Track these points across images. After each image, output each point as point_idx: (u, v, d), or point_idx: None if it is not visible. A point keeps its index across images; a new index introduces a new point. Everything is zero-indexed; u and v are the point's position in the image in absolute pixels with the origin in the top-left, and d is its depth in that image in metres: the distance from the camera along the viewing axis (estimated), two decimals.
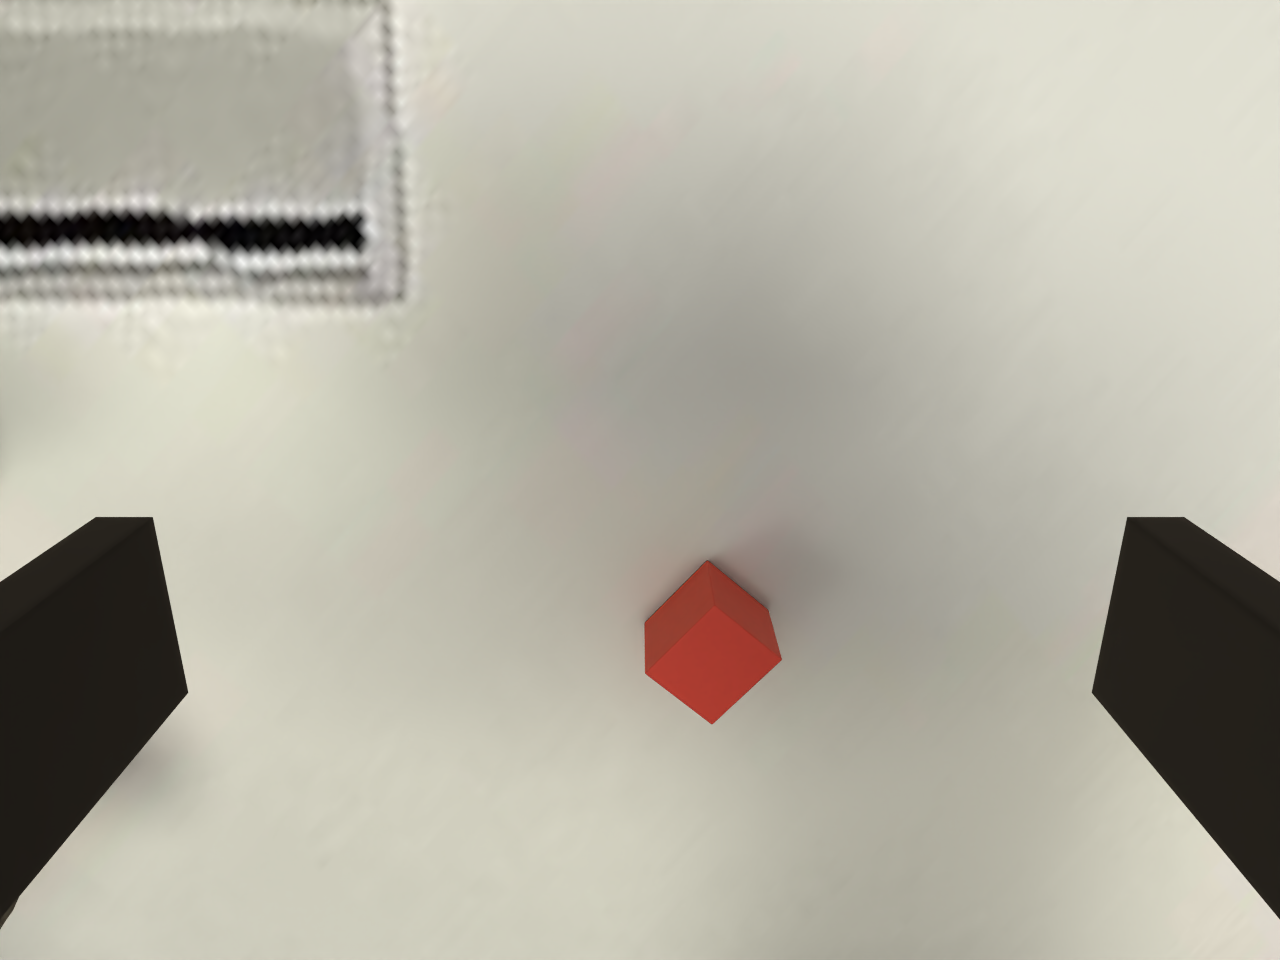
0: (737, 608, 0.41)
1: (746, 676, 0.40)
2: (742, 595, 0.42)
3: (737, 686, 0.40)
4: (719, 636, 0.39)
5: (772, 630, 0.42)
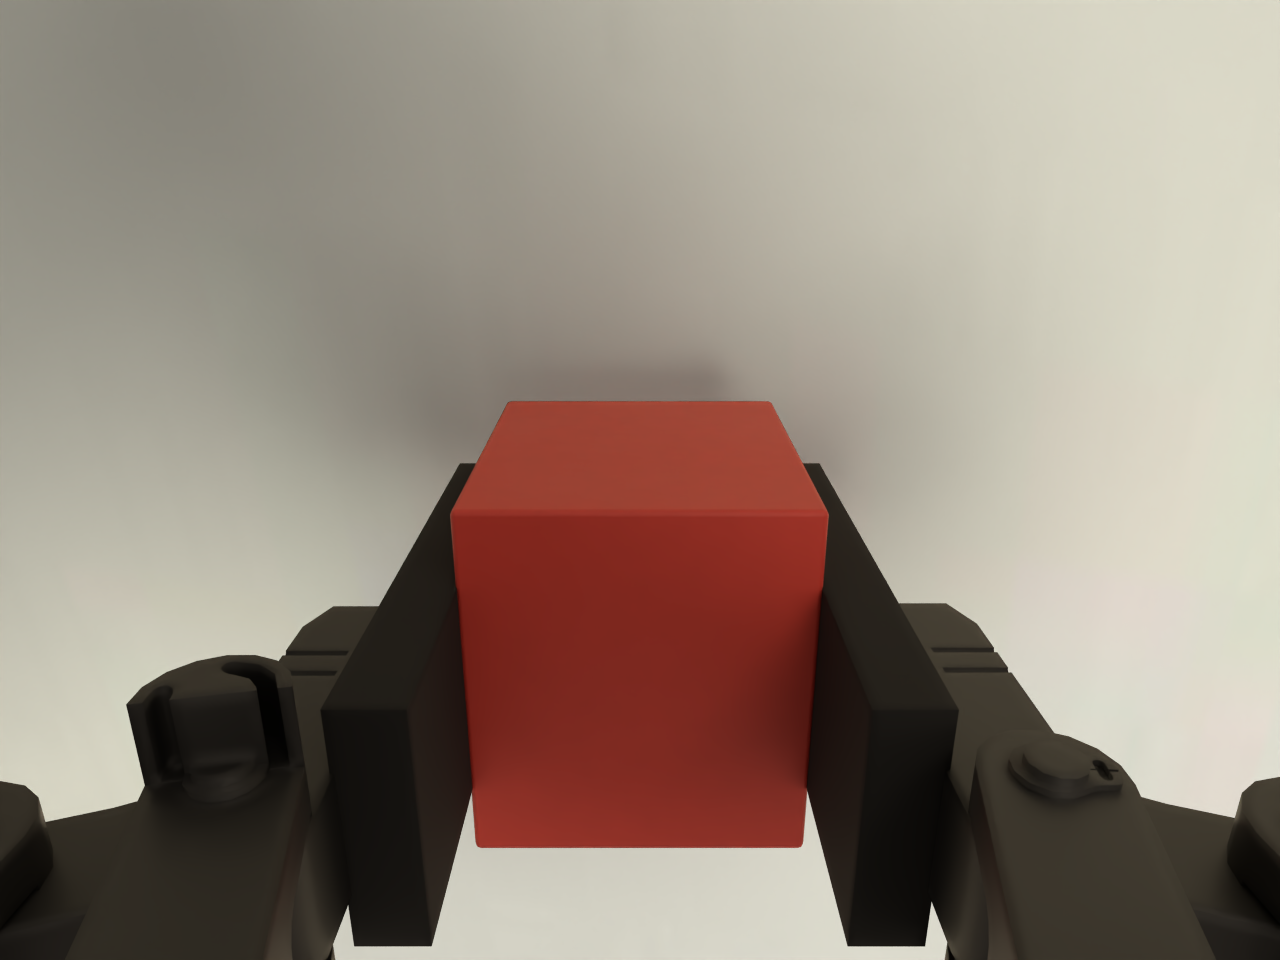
0: None
1: (517, 737, 0.11)
2: None
3: (509, 690, 0.10)
4: (708, 785, 0.11)
5: None
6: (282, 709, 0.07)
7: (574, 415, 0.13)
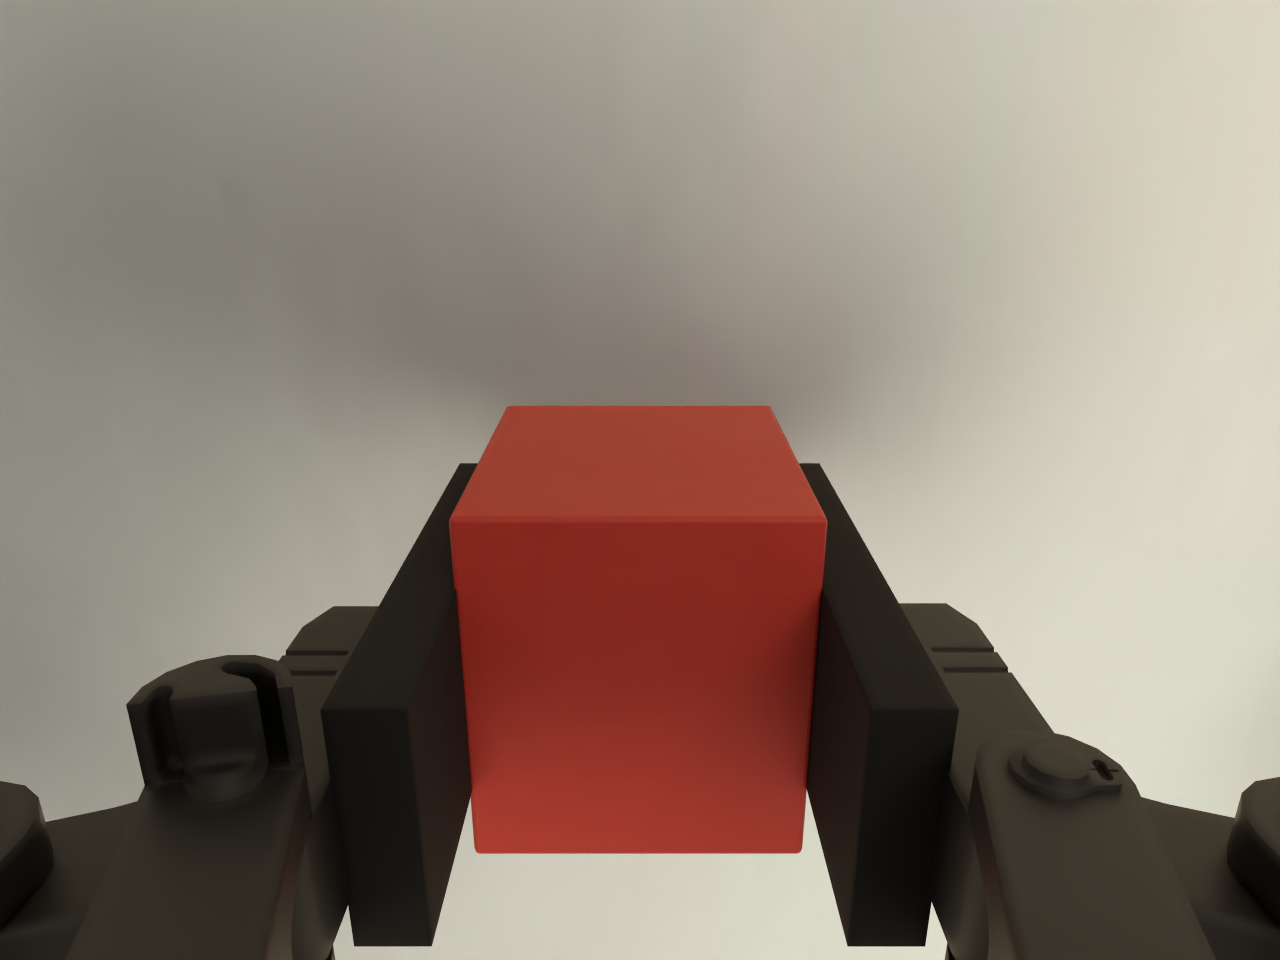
0: None
1: (516, 743, 0.11)
2: None
3: (508, 696, 0.10)
4: (706, 791, 0.11)
5: None
6: (282, 709, 0.07)
7: (573, 420, 0.13)
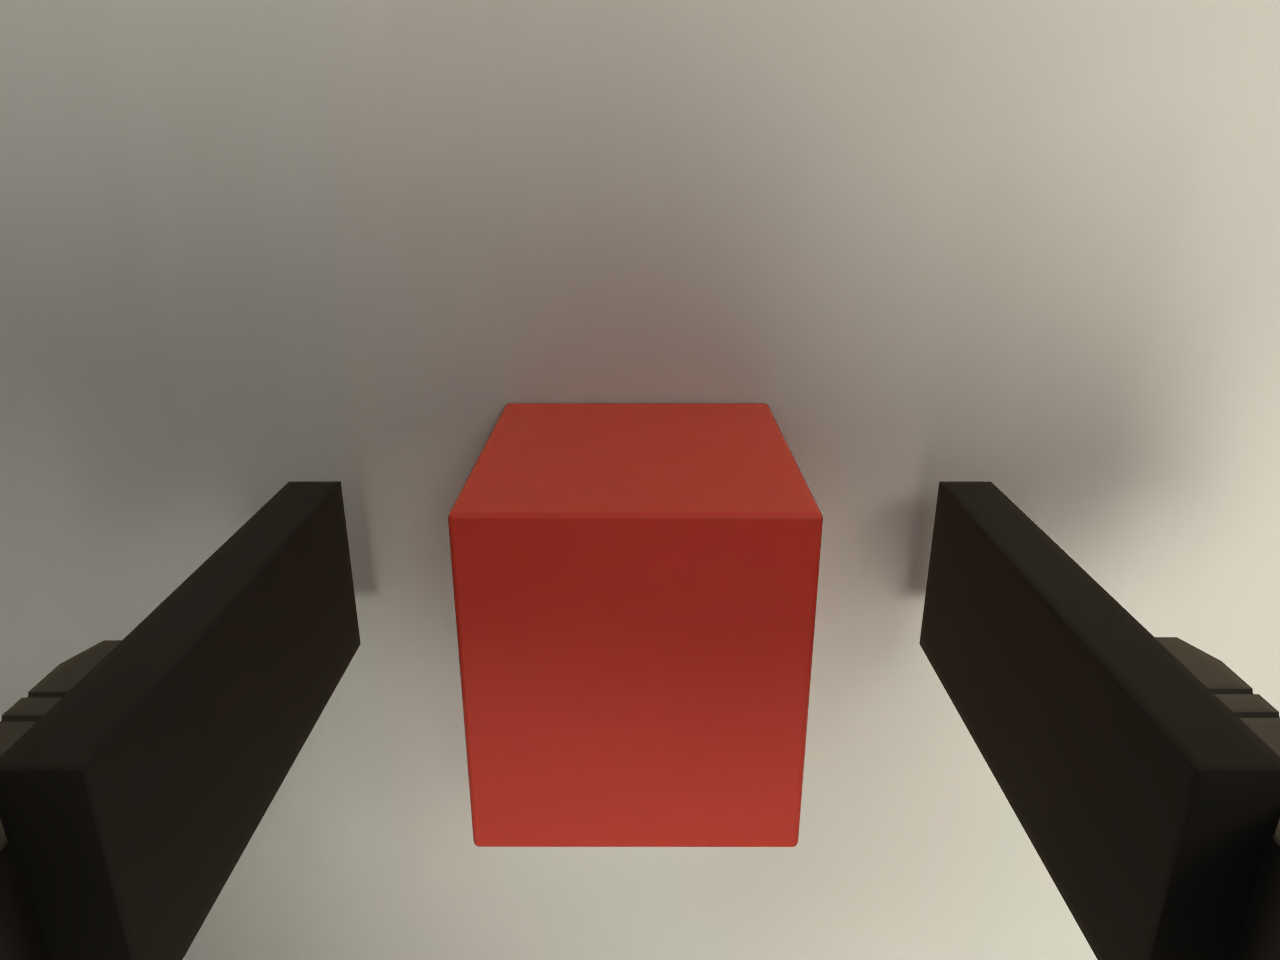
0: None
1: (514, 737, 0.11)
2: None
3: (507, 691, 0.11)
4: (704, 785, 0.11)
5: None
6: None
7: (572, 418, 0.13)
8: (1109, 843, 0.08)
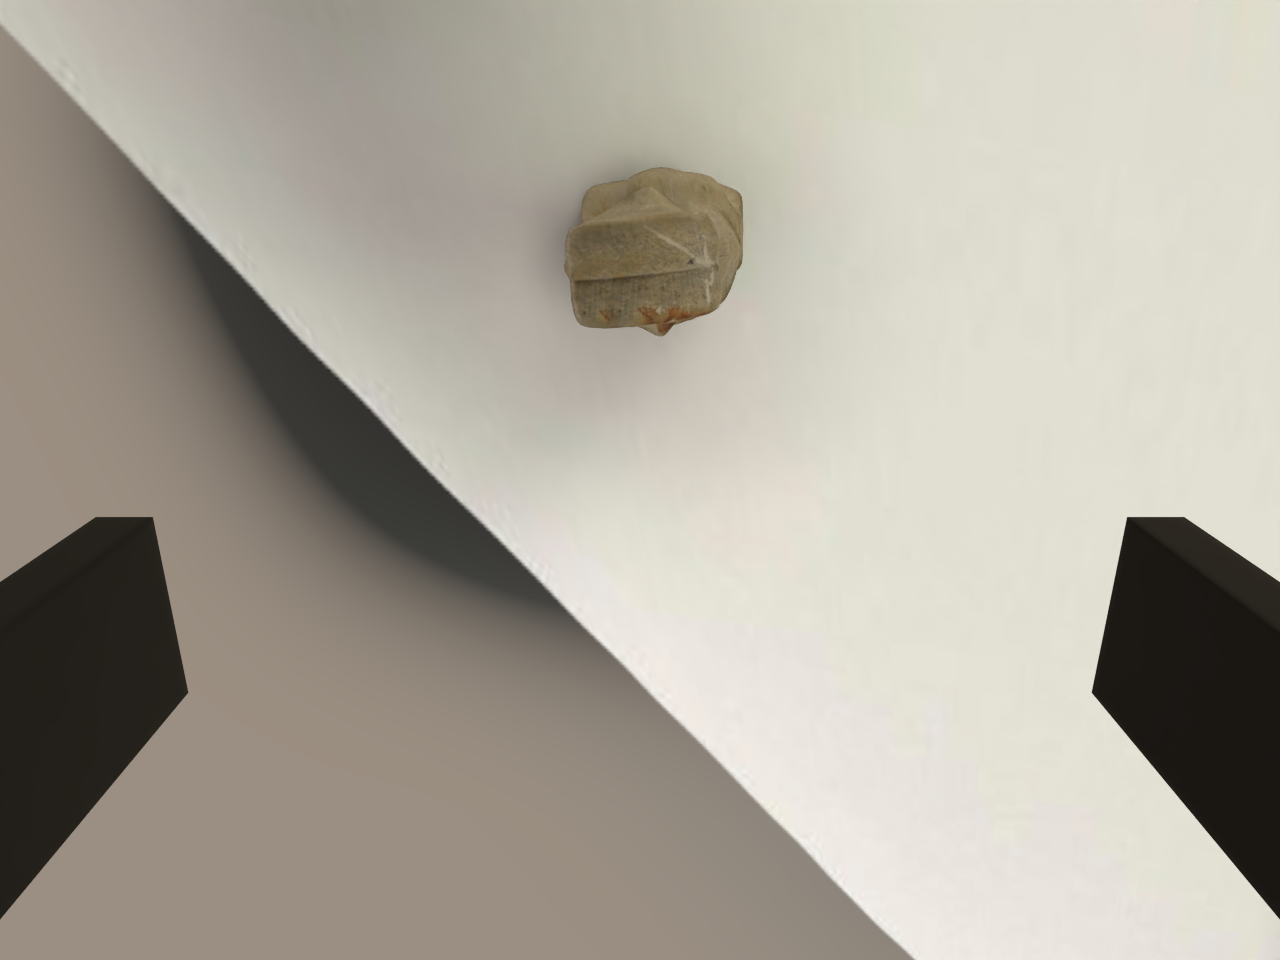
0: None
1: None
2: None
3: None
4: None
5: None
6: None
7: None
8: None
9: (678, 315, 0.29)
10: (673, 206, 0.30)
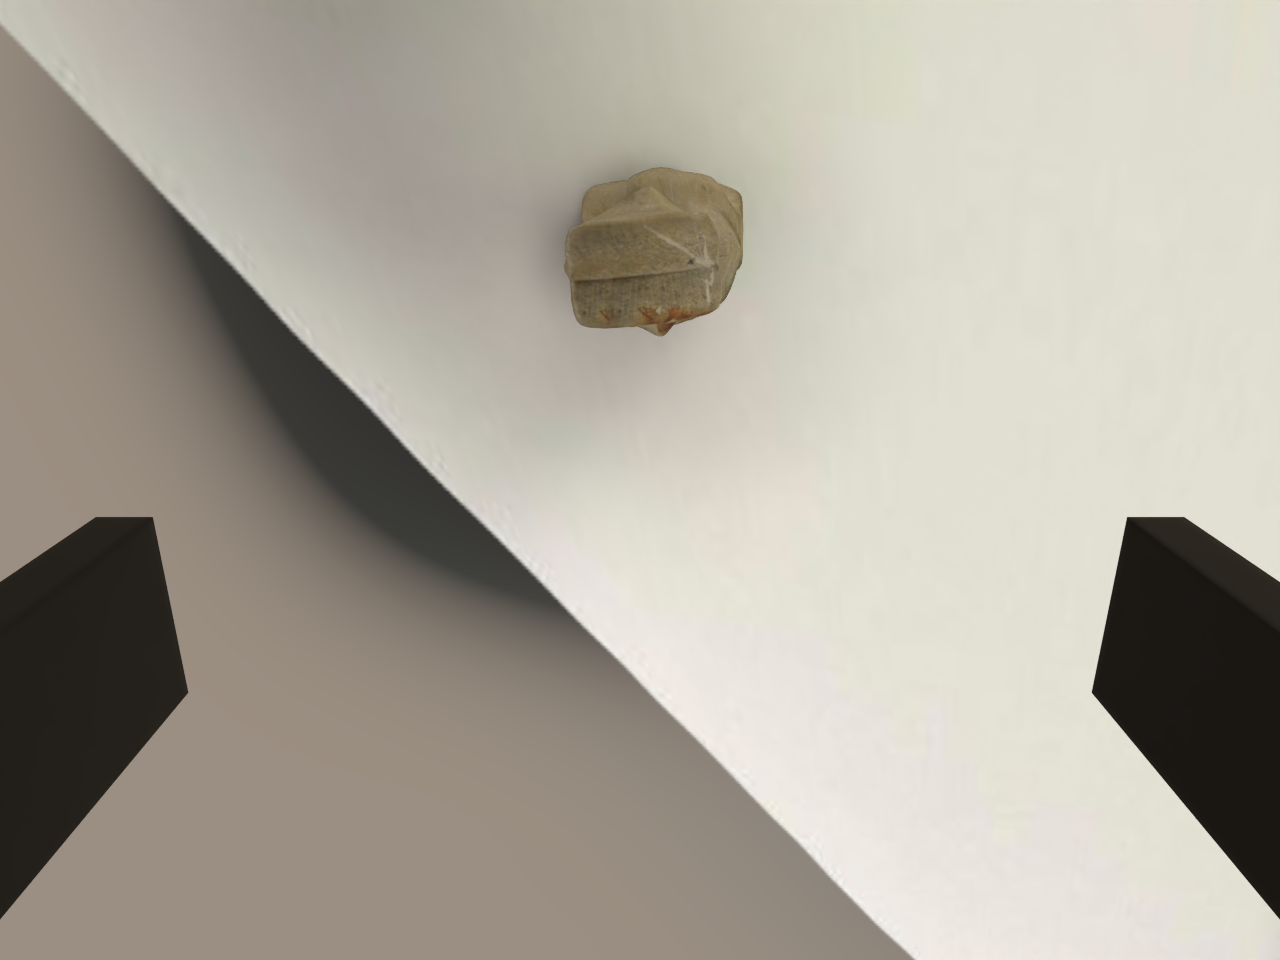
0: None
1: None
2: None
3: None
4: None
5: None
6: None
7: None
8: None
9: (678, 315, 0.29)
10: (673, 206, 0.30)
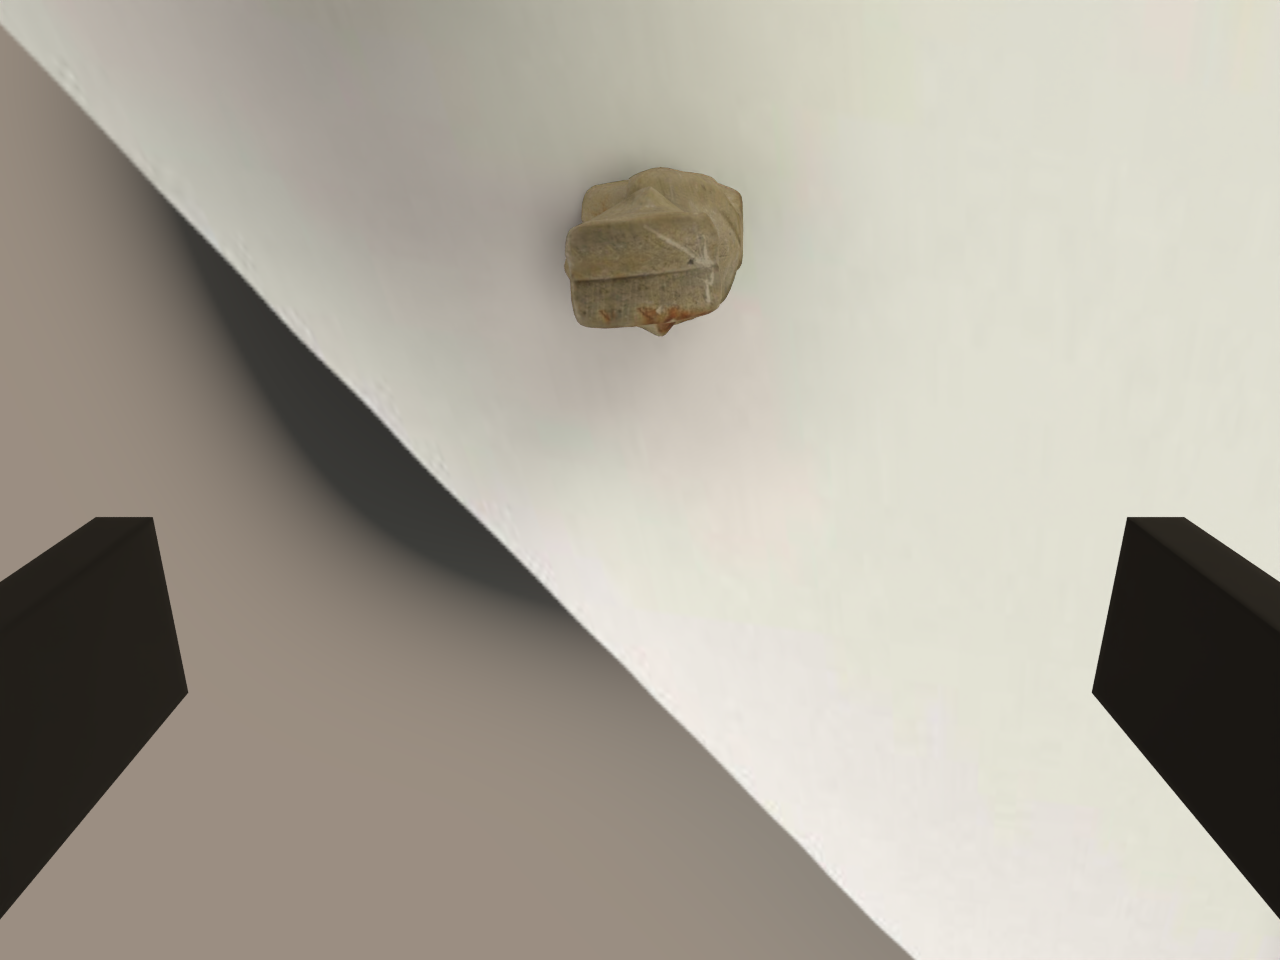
0: None
1: None
2: None
3: None
4: None
5: None
6: None
7: None
8: None
9: (678, 315, 0.29)
10: (673, 206, 0.30)
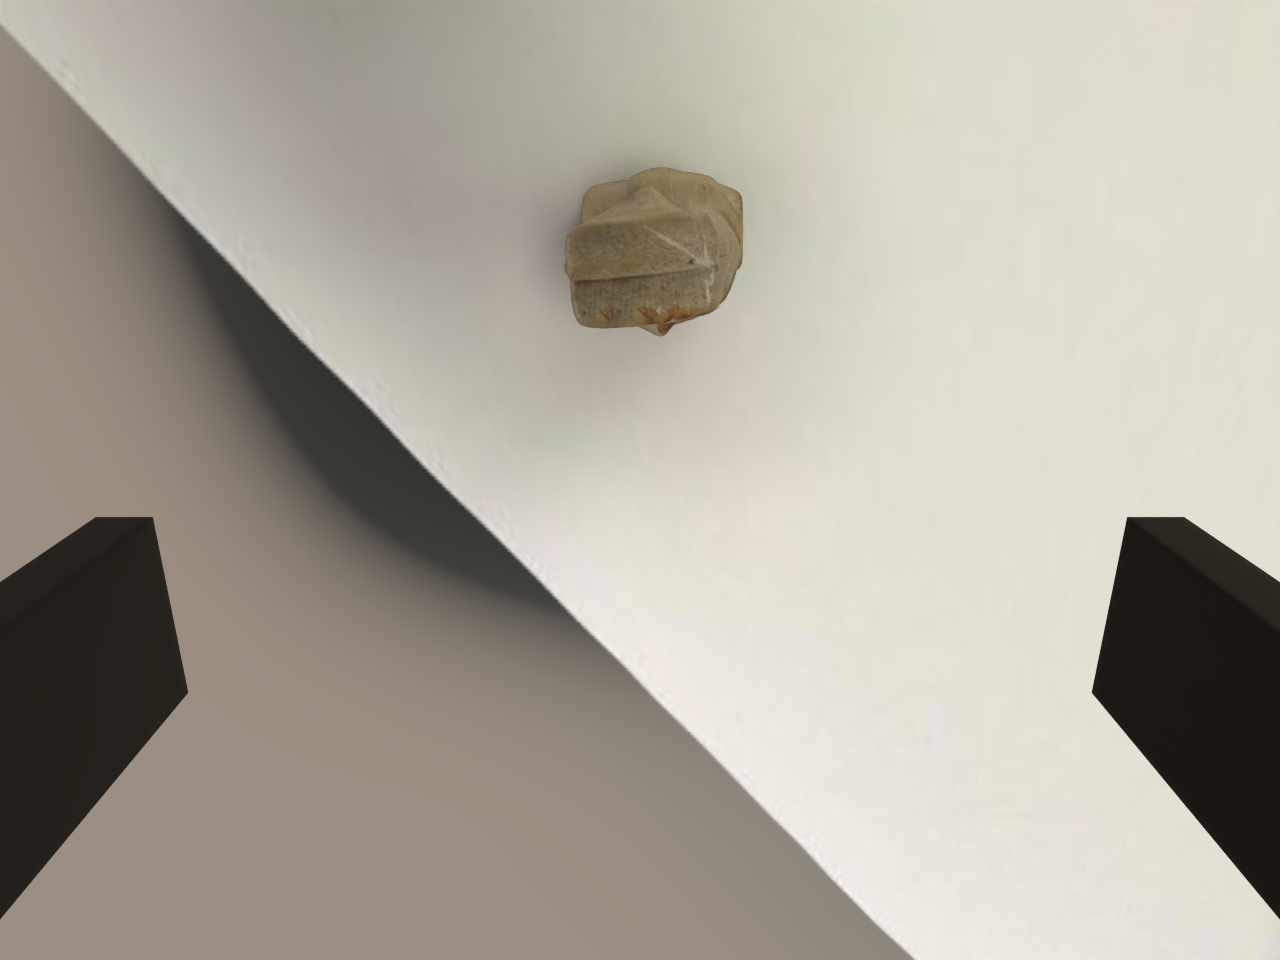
0: None
1: None
2: None
3: None
4: None
5: None
6: None
7: None
8: None
9: (678, 315, 0.29)
10: (673, 206, 0.30)
